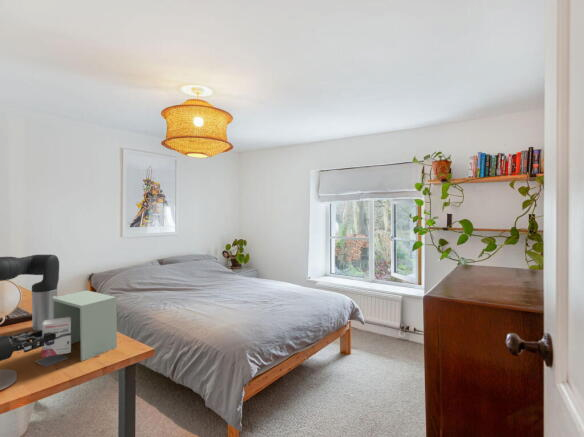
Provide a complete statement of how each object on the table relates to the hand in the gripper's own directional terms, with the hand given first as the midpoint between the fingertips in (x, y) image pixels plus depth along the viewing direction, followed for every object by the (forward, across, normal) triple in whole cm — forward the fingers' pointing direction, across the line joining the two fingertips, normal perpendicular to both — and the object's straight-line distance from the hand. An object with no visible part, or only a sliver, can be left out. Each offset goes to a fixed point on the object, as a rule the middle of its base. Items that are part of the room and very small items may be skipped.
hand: (50, 334), depth 116 cm
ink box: (+2, -1, +7) cm, 8 cm away
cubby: (+12, 0, +10) cm, 15 cm away
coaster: (0, 0, +10) cm, 10 cm away
